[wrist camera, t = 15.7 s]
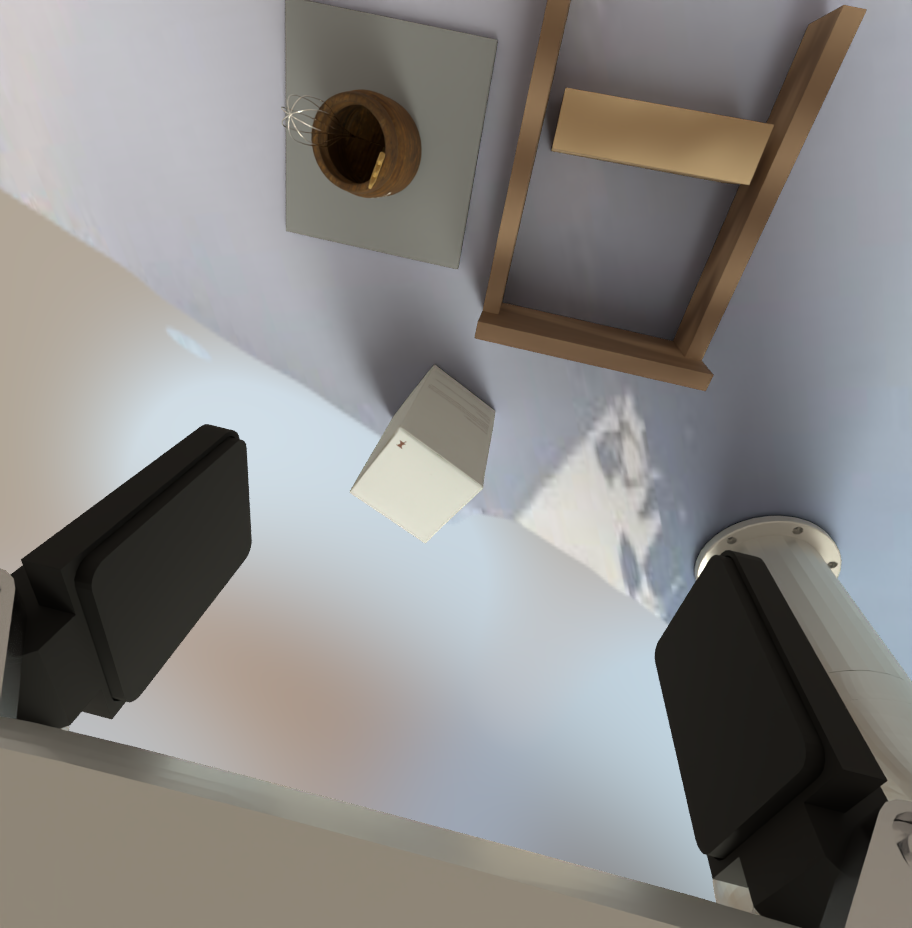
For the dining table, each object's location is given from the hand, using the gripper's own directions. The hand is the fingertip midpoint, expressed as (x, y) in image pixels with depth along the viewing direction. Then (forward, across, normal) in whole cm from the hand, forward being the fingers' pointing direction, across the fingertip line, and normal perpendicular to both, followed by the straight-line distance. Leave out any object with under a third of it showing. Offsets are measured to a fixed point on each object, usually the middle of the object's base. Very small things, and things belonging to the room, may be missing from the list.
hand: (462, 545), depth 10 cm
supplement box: (+34, +4, +14) cm, 37 cm away
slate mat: (+33, +12, -6) cm, 36 cm away
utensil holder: (+33, +12, -6) cm, 35 cm away
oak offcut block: (+34, -6, -10) cm, 35 cm away
